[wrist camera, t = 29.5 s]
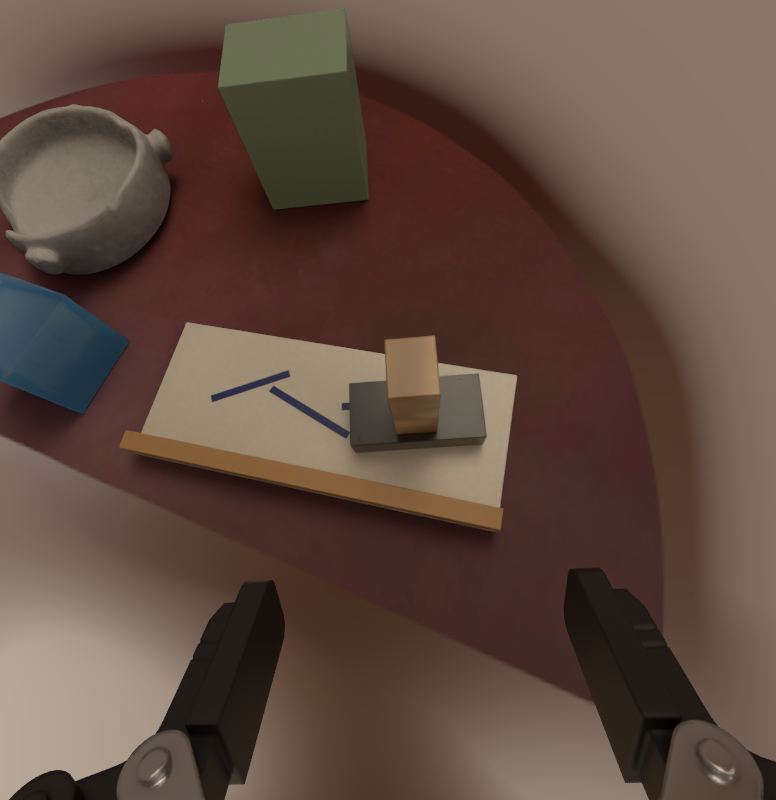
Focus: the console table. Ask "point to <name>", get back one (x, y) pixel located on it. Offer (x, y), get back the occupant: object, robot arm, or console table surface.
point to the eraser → (415, 403)
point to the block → (297, 107)
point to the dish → (82, 188)
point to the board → (315, 426)
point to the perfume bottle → (53, 345)
